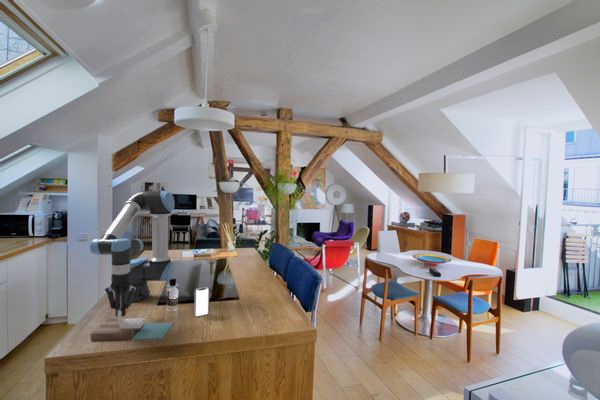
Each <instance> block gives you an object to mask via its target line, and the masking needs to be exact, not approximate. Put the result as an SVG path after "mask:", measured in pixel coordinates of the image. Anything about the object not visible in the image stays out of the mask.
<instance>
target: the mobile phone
mask: <svg viewBox="0 0 600 400" xmlns="http://www.w3.org/2000/svg"><path fill="white" fill-rule="evenodd" d="M209 312H210V288H209V287H208V286H206V287H199V288H195V290H194V317H195V318H197V317H198V318H200V317H203V316H207V315H209Z"/></svg>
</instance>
